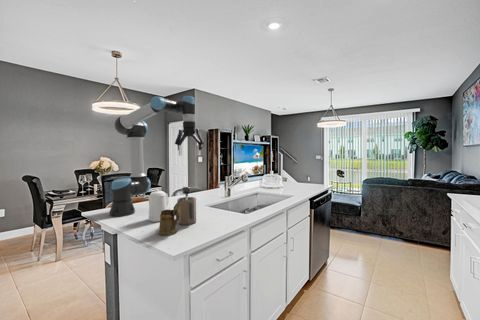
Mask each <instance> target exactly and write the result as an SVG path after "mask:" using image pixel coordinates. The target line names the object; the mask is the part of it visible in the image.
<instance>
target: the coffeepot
mask: <svg viewBox="0 0 480 320" xmlns="http://www.w3.org/2000/svg"><path fill="white" fill-rule="evenodd" d="M144 198H148V221H149V222H153V223H160V214H161V211H163V210H168V205H169V195H168V193H167V192H165V191H162V190H160V189H159V188H156V189H155V191H151V192H150V194H149V195H148V194H147V195H146V194H145V196H144Z"/></svg>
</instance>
